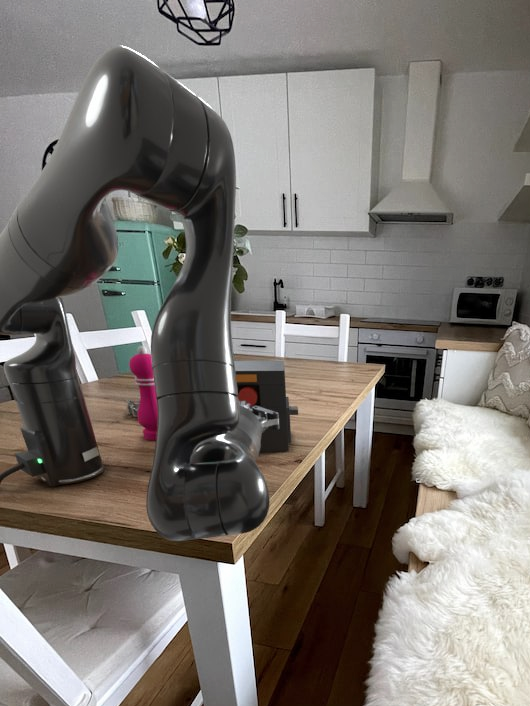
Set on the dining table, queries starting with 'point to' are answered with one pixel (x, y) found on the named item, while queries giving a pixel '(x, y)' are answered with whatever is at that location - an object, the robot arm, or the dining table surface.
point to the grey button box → (269, 398)
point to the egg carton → (132, 407)
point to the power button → (248, 395)
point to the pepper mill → (145, 392)
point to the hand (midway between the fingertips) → (242, 406)
